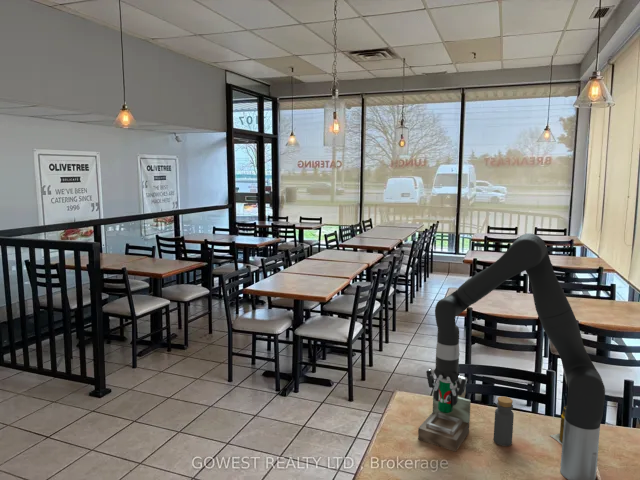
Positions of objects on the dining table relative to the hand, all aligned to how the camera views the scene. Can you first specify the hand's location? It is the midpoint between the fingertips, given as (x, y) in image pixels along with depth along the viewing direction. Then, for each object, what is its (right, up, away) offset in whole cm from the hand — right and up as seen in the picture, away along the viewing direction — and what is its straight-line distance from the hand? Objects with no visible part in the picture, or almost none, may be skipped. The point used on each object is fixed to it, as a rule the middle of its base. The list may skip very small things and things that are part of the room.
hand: (445, 402), depth 161 cm
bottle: (+19, -13, -1) cm, 23 cm away
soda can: (0, -3, 0) cm, 3 cm away
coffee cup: (+7, -10, +16) cm, 20 cm away
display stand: (0, -12, +2) cm, 12 cm away
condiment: (+41, -13, -1) cm, 43 cm away
